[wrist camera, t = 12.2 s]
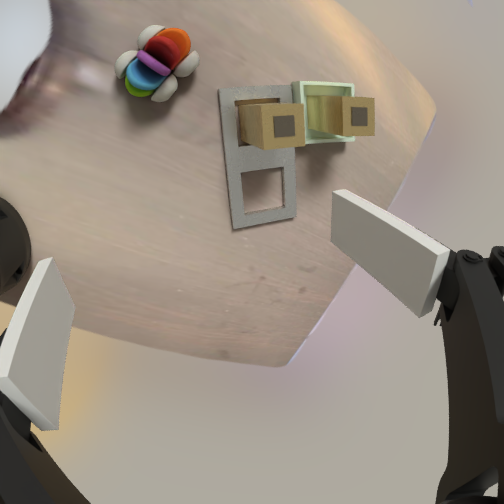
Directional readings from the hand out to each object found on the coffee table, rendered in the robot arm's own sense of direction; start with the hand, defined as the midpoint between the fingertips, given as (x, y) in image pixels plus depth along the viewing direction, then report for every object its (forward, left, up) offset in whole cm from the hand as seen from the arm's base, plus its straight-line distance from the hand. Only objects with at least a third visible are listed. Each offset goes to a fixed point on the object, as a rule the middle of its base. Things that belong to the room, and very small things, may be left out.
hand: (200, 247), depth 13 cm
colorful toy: (0, +12, -28) cm, 31 cm away
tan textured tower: (+12, +3, -28) cm, 31 cm away
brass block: (+22, +4, -28) cm, 36 cm away
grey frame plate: (+12, -2, -28) cm, 31 cm away
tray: (+22, +4, -28) cm, 36 cm away
